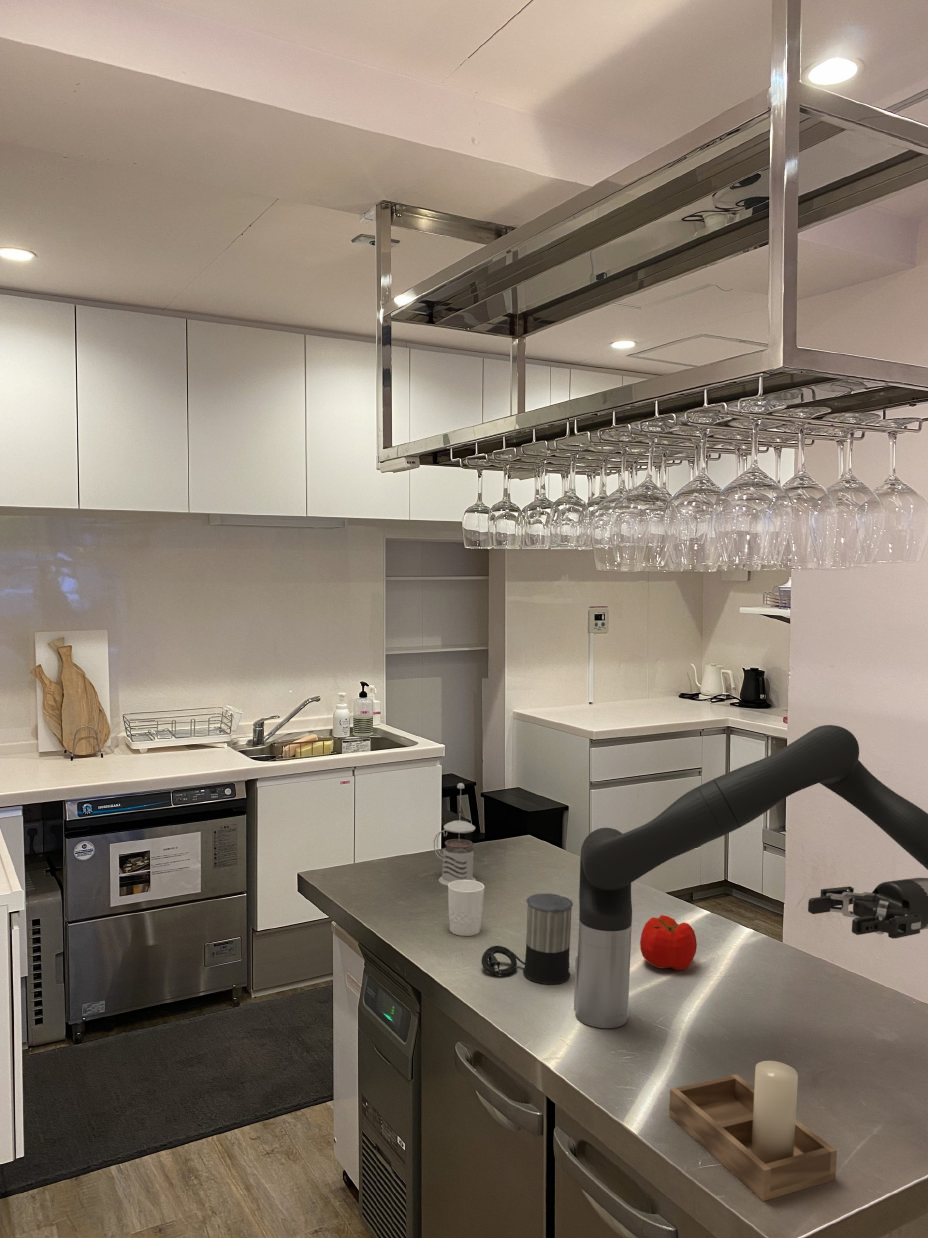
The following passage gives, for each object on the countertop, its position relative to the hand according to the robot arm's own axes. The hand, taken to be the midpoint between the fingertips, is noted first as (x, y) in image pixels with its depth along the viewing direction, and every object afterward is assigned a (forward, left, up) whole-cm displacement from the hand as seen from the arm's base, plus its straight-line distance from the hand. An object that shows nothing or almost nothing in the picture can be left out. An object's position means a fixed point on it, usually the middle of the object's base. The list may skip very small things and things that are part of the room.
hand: (831, 916), depth 137 cm
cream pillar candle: (+7, -15, -29) cm, 33 cm away
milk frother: (-59, -18, -30) cm, 69 cm away
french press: (-115, -10, -30) cm, 119 cm away
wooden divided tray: (+2, -15, -30) cm, 34 cm away
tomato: (-53, +11, -30) cm, 62 cm away
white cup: (-83, -21, -30) cm, 91 cm away
